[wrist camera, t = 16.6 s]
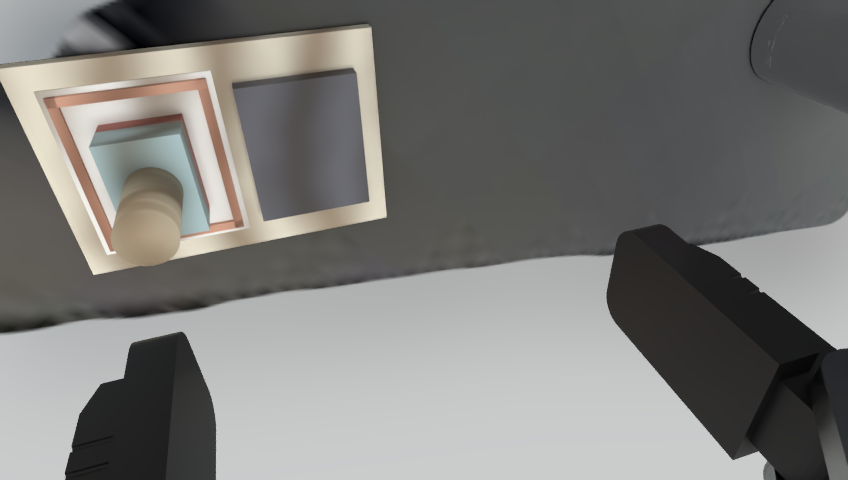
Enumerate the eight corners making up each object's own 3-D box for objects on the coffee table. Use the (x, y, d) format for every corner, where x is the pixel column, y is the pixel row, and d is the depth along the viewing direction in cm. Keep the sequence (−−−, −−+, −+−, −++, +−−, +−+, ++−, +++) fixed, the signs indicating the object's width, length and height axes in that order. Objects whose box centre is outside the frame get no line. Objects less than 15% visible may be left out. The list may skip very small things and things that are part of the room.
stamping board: (367, 23, 37) (375, 31, 36) (383, 211, 46) (390, 224, 44) (0, 64, 32) (-12, 75, 30) (96, 266, 41) (90, 284, 39)
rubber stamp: (181, 113, 36) (175, 175, 29) (209, 205, 40) (210, 280, 33) (97, 125, 34) (70, 193, 27) (135, 218, 39) (119, 299, 31)
